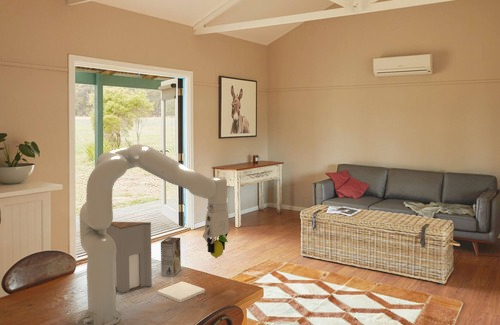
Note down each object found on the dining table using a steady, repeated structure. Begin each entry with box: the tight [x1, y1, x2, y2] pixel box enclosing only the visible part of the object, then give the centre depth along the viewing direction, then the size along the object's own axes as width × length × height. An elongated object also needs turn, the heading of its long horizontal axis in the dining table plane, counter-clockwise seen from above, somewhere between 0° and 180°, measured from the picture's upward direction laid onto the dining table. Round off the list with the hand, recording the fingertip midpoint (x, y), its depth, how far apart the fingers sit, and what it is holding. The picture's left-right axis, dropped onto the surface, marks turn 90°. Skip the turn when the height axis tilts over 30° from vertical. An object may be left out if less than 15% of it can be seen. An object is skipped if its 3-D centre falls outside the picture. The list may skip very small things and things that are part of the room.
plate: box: [156, 280, 206, 303], centre depth 180 cm, size 14×14×1 cm
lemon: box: [206, 236, 228, 259], centre depth 178 cm, size 7×6×10 cm
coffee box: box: [160, 236, 182, 278], centre depth 202 cm, size 9×6×16 cm
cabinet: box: [107, 221, 153, 295], centre depth 182 cm, size 21×10×28 cm, turn 88°
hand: (216, 250), depth 178 cm, fingers closed on lemon, 5 cm apart
